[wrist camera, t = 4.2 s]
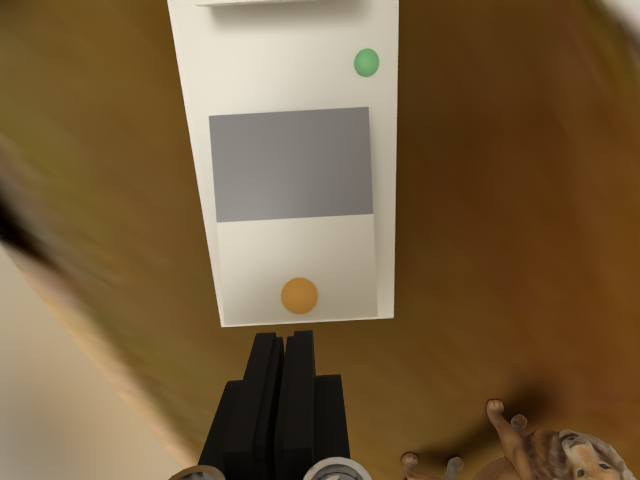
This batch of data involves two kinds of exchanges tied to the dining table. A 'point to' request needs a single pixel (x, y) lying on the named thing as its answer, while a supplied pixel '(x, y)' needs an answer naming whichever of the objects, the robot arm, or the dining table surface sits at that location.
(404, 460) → the lion figurine
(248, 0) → the rocker
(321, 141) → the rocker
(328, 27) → the strip
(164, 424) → the dining table surface
